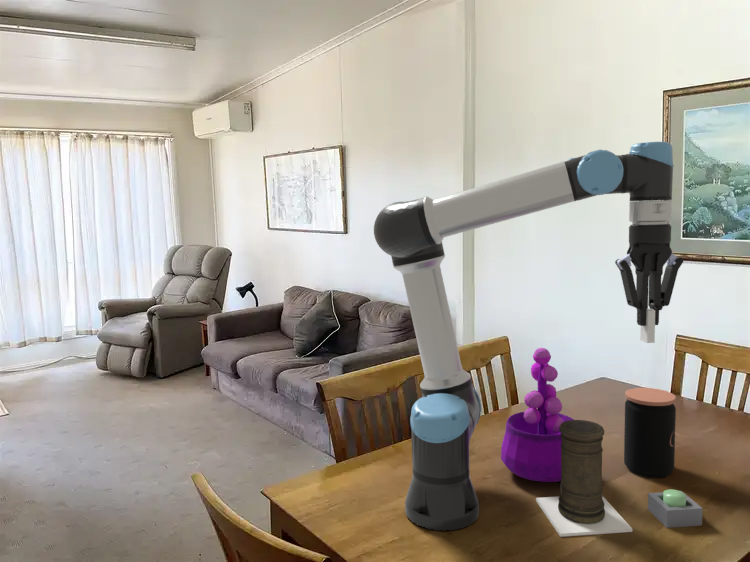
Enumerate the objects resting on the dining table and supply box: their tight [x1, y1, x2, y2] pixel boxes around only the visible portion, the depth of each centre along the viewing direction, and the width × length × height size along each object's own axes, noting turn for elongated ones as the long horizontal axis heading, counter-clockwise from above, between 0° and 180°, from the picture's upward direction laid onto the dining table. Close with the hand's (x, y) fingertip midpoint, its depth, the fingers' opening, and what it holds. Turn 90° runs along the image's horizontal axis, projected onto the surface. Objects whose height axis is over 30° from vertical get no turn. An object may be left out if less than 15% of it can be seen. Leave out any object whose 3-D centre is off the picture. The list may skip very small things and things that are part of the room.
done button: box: [663, 488, 687, 507], centre depth 117 cm, size 4×4×4 cm
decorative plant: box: [500, 347, 575, 483], centre depth 137 cm, size 19×18×30 cm
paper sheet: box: [535, 495, 633, 537], centre depth 120 cm, size 14×14×1 cm
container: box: [558, 419, 605, 524], centre depth 118 cm, size 9×9×18 cm
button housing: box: [647, 490, 703, 529], centre depth 118 cm, size 7×7×4 cm
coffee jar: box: [623, 387, 677, 479], centre depth 138 cm, size 11×11×18 cm
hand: (647, 341), depth 119 cm, fingers closed
